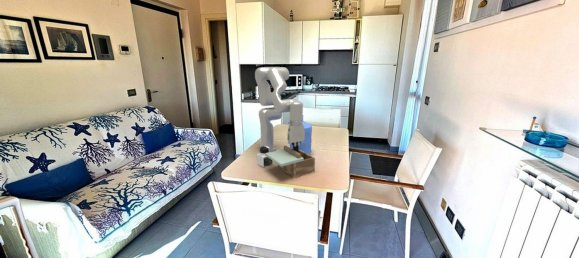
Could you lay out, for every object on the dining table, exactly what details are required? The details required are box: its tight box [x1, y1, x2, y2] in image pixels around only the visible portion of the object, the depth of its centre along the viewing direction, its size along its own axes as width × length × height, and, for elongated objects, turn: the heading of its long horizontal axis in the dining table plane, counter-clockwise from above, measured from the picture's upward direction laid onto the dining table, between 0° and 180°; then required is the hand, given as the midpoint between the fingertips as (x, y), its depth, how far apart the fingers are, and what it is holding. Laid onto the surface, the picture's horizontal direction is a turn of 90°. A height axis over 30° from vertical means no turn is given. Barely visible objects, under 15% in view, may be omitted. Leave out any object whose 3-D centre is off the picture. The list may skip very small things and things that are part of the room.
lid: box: [265, 145, 304, 167], centre depth 140 cm, size 18×15×4 cm
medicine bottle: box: [256, 146, 273, 168], centre depth 152 cm, size 7×7×12 cm
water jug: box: [289, 120, 313, 155], centre depth 169 cm, size 16×16×28 cm
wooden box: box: [277, 149, 316, 179], centre depth 146 cm, size 18×15×9 cm
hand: (295, 151), depth 144 cm, fingers closed
